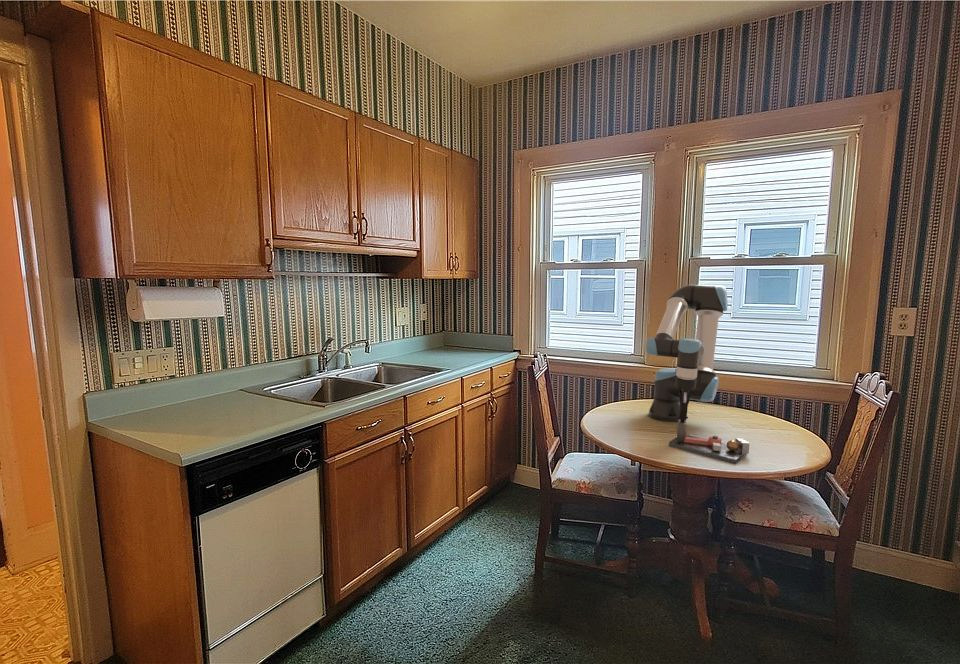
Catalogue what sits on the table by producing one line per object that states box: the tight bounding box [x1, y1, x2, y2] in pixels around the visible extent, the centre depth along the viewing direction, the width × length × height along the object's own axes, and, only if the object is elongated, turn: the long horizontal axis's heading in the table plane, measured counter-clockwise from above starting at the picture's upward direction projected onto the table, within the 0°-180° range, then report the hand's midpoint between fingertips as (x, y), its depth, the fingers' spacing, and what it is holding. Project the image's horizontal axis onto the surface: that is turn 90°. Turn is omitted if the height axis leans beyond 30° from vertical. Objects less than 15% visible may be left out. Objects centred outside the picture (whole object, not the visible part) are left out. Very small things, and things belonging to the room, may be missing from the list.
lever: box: [676, 421, 722, 451], centre depth 174 cm, size 16×9×7 cm, turn 70°
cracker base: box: [668, 433, 750, 465], centre depth 174 cm, size 26×14×6 cm, turn 45°
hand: (681, 434), depth 183 cm, fingers closed
